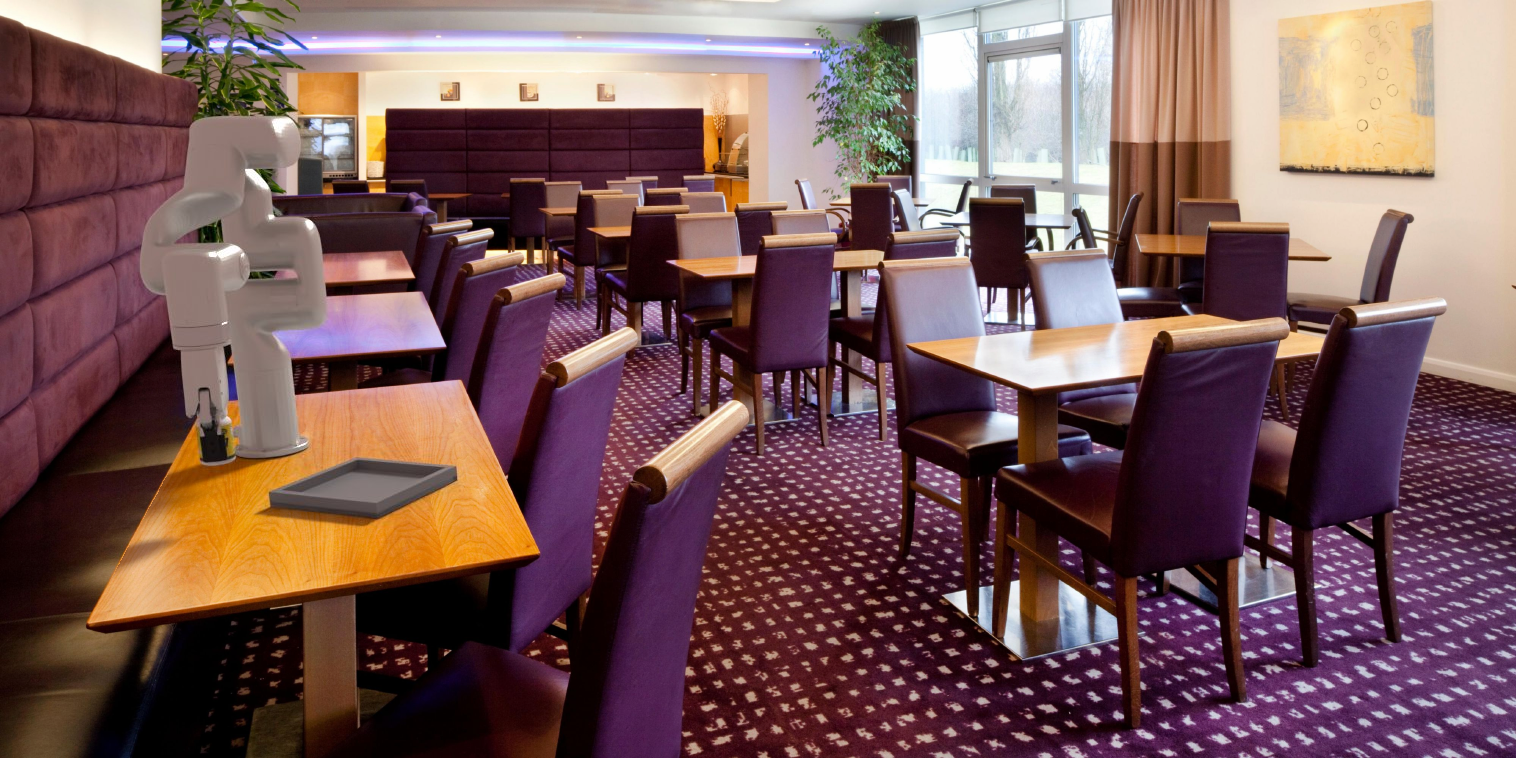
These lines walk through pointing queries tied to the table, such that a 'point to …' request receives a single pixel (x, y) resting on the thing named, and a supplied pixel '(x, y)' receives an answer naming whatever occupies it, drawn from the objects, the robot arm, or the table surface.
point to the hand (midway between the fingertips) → (217, 454)
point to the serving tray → (363, 487)
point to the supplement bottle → (229, 439)
